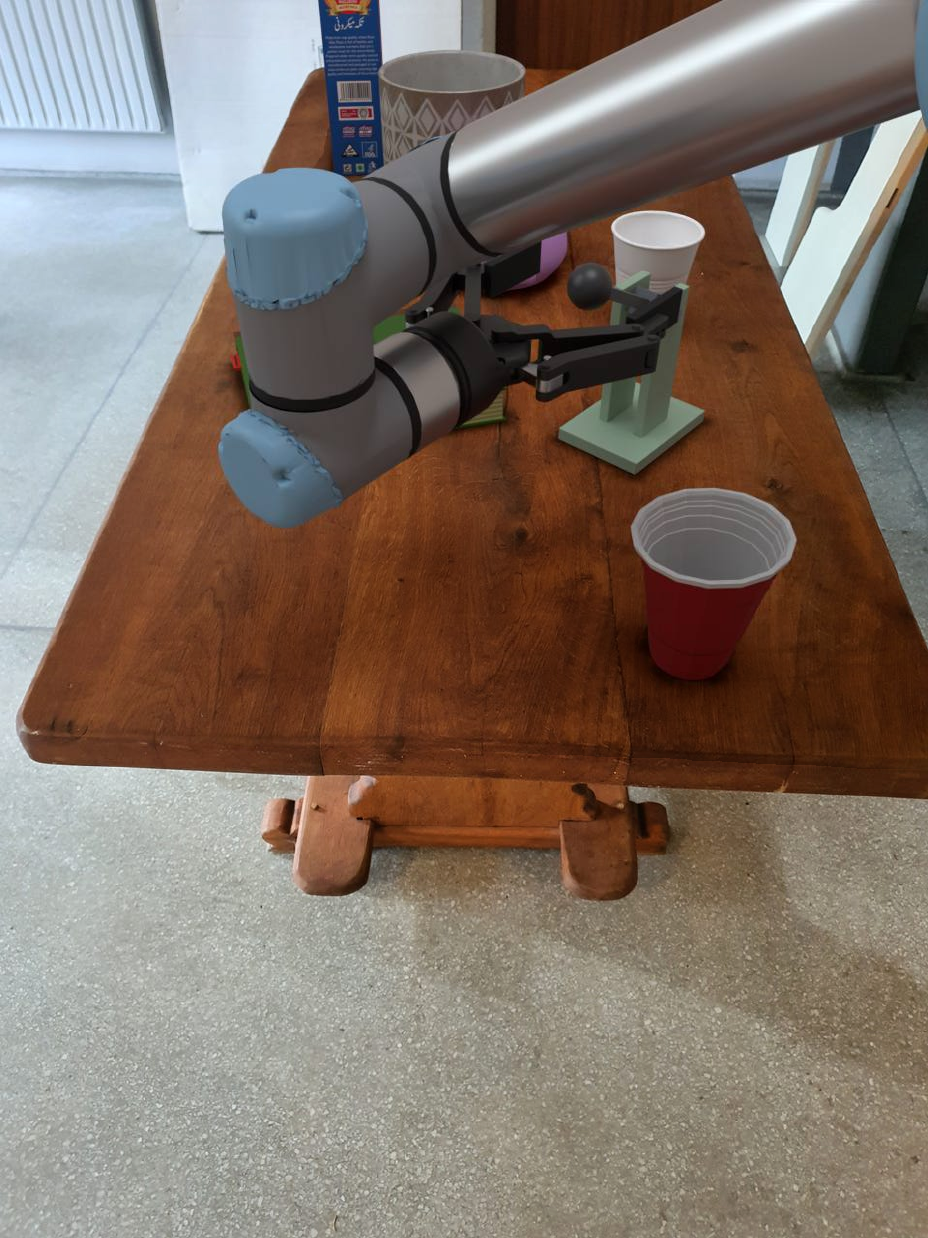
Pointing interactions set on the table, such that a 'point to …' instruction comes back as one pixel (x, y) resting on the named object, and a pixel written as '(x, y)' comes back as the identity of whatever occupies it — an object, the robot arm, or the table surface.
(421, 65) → the planter
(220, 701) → the table surface
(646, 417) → the switch bracket
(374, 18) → the pasta box
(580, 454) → the table surface
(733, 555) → the plastic cup
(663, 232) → the cup
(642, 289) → the switch lever
